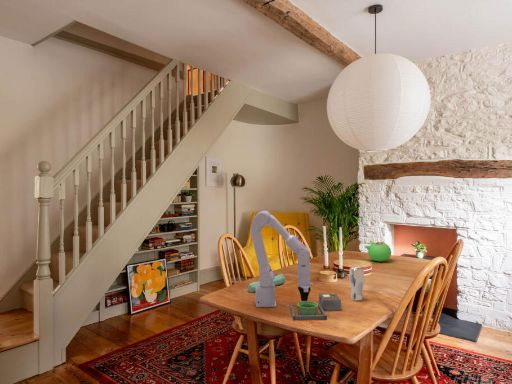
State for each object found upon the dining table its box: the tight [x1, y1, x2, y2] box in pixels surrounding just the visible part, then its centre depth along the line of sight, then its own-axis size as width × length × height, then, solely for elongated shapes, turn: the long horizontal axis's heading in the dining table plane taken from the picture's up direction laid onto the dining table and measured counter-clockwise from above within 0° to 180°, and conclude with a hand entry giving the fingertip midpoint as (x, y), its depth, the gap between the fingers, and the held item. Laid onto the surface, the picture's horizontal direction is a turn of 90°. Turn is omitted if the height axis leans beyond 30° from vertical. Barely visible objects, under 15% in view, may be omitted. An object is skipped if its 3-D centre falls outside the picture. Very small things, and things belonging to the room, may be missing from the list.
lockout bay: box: [289, 303, 328, 321], centre depth 147 cm, size 14×14×2 cm
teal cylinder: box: [247, 273, 286, 293], centre depth 187 cm, size 6×6×25 cm
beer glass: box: [348, 266, 365, 302], centre depth 166 cm, size 7×7×15 cm
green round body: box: [364, 240, 392, 263], centre depth 250 cm, size 18×17×15 cm
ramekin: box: [296, 300, 319, 315], centre depth 147 cm, size 9×9×4 cm
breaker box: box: [318, 292, 342, 311], centre depth 156 cm, size 8×10×5 cm
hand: (304, 303), depth 157 cm, fingers closed
